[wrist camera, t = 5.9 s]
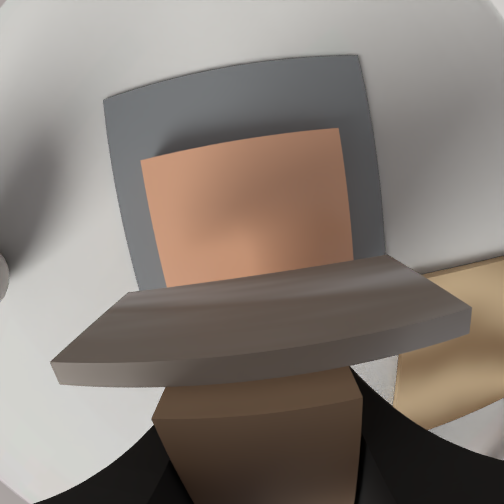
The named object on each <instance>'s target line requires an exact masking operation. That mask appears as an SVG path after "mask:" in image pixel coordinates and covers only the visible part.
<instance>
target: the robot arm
mask: <svg viewBox="0 0 504 504" xmlns="http://www.w3.org/2000/svg"><path fill="white" fill-rule="evenodd" d="M349 368H350V370H351V372H352V374H353V376H354V379H355V381H356V383H357V385H358V388H359V390H360V392H361V394H362V397H363V406H362V426H361V441H360V454H359V465H358V475H357V484H356V492H355V500H354V504H504V460H499V459H495V458H492V457H488V456H485V455H482V454H479V453H475V452H473V451H470V450H468V449H465V448H463V447H460V446H458V445H456V444H453V443H451V442H449V441H447V440H444V439H442V438H441V437H439V436H437V435H435V434H433V433H431V432H430V431H428V430H426V429H425V428H423V427H421V426H420V425H418V424H416V423H415V422H413V421H412V420H411V419H409V418H408V417H406V416H405V415H404V414H402V413H401V412H399V411H398V410H397V409H395V408H394V407H393V406H392V405H390V404H389V403H388V402H387V401H386V400H385V399H383V398H382V397H381V396H380V395H379V394H378V393H376V392H375V391H374V390H373V389H372V388H371V387H370V386H369V385H368V384H367V383H366V382H365V381H364V380H363V379H362V378H361V377H360V376H359V375H358V374H357V373H356V372H355V371H354V370H353V369H352V368H351V367H350V366H349ZM34 504H194V502H193V500H192V499H191V497H190V495H189V493H188V492H187V490H186V488H185V486H184V484H183V483H182V481H181V479H180V477H179V475H178V473H177V471H176V469H175V468H174V466H173V464H172V462H171V460H170V458H169V456H168V454H167V452H166V450H165V447H164V445H163V443H162V441H161V439H160V437H159V435H158V433H157V430H156V428H155V426H154V425H153V426H152V427H151V428H150V429H149V430H148V431H147V432H146V433H145V434H144V435H143V436H142V438H141V439H140V440H139V441H138V442H137V443H135V444H134V445H133V446H132V447H131V448H130V449H129V450H128V451H126V452H125V453H124V454H123V455H122V456H120V457H119V458H118V459H117V460H115V461H114V462H113V463H111V464H110V465H109V466H107V467H106V468H104V469H103V470H101V471H100V472H98V473H97V474H95V475H94V476H92V477H90V478H89V479H87V480H86V481H84V482H82V483H80V484H79V485H77V486H75V487H73V488H71V489H69V490H67V491H65V492H63V493H60V494H58V495H56V496H53V497H51V498H49V499H46V500H43V501H40V502H37V503H34Z"/></svg>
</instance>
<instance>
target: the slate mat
mask: <svg viewBox="0 0 504 504" xmlns="http://www.w3.org/2000/svg"><path fill="white" fill-rule="evenodd" d="M103 104H104V113H105V122H106V130H107V137H108V144H109V151H110V158H111V164H112V170H113V176H114V182H115V187H116V192H117V198H118V203H119V208H120V213H121V217H122V222H123V227H124V231H125V235H126V240H127V244H128V248H129V252H130V256H131V260H132V264H133V268H134V272H135V276H136V280H137V283H138V287H139V291H144V290H152V289H160V288H167V286H166V282H165V278H164V274H163V270H162V265H161V261H160V257H159V253H158V248H157V244H156V239H155V234H154V230H153V225H152V220H151V215H150V210H149V205H148V200H147V195H146V189H145V184H144V178H143V173H142V167H141V161H140V160H144V159H148V158H152V157H157V156H161V155H165V154H170V153H174V152H179V151H183V150H188V149H193V148H198V147H203V146H208V145H213V144H219V143H225V142H230V141H236V140H242V139H248V138H255V137H262V136H269V135H276V134H284V133H292V132H300V131H309V130H319V129H330V128H339V134H340V140H341V147H342V154H343V161H344V168H345V176H346V184H347V192H348V201H349V211H350V221H351V232H352V245H353V259H354V260H358V259H364V258H370V257H376V256H382V255H385V243H384V226H383V212H382V200H381V190H380V180H379V172H378V164H377V156H376V149H375V142H374V135H373V129H372V123H371V117H370V111H369V106H368V101H367V96H366V91H365V86H364V81H363V76H362V72H361V68H360V63H359V59H358V55H345V56H318V57H303V58H291V59H281V60H272V61H264V62H256V63H249V64H243V65H237V66H231V67H225V68H219V69H214V70H209V71H204V72H200V73H195V74H190V75H186V76H182V77H178V78H174V79H170V80H166V81H162V82H158V83H155V84H151V85H148V86H144V87H141V88H137V89H134V90H131V91H128V92H125V93H122V94H119V95H116V96H113V97H110V98H107V99H104V100H103Z"/></svg>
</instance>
